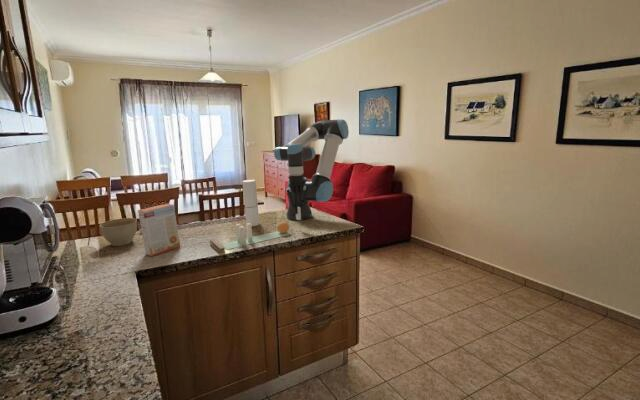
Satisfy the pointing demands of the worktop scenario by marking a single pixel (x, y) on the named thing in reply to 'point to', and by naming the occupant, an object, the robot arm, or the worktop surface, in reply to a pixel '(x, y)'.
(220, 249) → the backstop
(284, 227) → the ball
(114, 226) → the planter bowl
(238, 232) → the pin back right
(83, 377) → the worktop surface
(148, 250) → the cracker box
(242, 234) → the pin back left
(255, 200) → the cylindrical container
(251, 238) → the pin front
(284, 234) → the lane
